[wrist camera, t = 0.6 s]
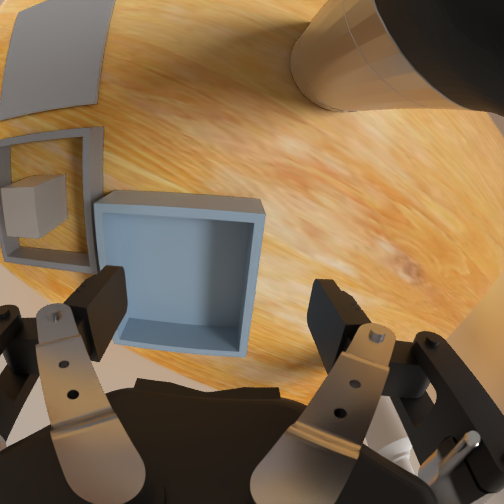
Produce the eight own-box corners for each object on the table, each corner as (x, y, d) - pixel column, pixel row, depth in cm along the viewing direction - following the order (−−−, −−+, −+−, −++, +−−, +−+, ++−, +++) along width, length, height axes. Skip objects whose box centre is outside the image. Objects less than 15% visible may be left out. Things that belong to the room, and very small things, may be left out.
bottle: (366, 361, 38) (428, 506, 15) (333, 367, 38) (385, 524, 15) (372, 335, 36) (450, 492, 13) (337, 342, 36) (403, 514, 13)
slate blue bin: (115, 190, 26) (93, 203, 22) (260, 199, 27) (265, 214, 23) (126, 317, 32) (113, 343, 28) (244, 328, 34) (245, 357, 29)
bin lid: (20, 13, 15) (18, 12, 14) (121, -18, 16) (119, -20, 16) (2, 120, 21) (-1, 120, 20) (97, 103, 22) (94, 103, 22)
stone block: (33, 175, 24) (0, 188, 19) (65, 173, 25) (33, 186, 19) (36, 217, 26) (7, 236, 21) (68, 218, 27) (39, 238, 21)
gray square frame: (6, 138, 22) (-10, 141, 19) (104, 126, 23) (90, 127, 21) (17, 251, 28) (4, 261, 25) (108, 261, 29) (97, 274, 26)
